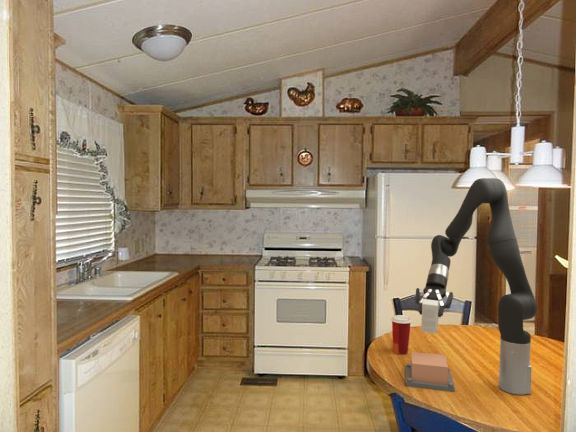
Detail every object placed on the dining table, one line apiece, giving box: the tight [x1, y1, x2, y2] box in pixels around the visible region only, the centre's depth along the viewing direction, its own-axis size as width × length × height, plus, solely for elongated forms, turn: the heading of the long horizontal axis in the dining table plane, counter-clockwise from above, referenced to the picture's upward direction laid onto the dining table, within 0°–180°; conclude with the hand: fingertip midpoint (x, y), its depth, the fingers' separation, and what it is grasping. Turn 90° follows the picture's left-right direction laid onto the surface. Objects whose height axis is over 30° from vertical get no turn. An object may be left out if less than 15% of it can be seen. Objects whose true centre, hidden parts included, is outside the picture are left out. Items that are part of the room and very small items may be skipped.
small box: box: [421, 299, 440, 335], centre depth 162 cm, size 8×6×10 cm
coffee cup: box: [390, 314, 412, 356], centre depth 185 cm, size 8×8×15 cm
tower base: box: [404, 351, 456, 393], centre depth 158 cm, size 16×16×8 cm
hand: (429, 314), depth 162 cm, fingers closed on small box, 6 cm apart
